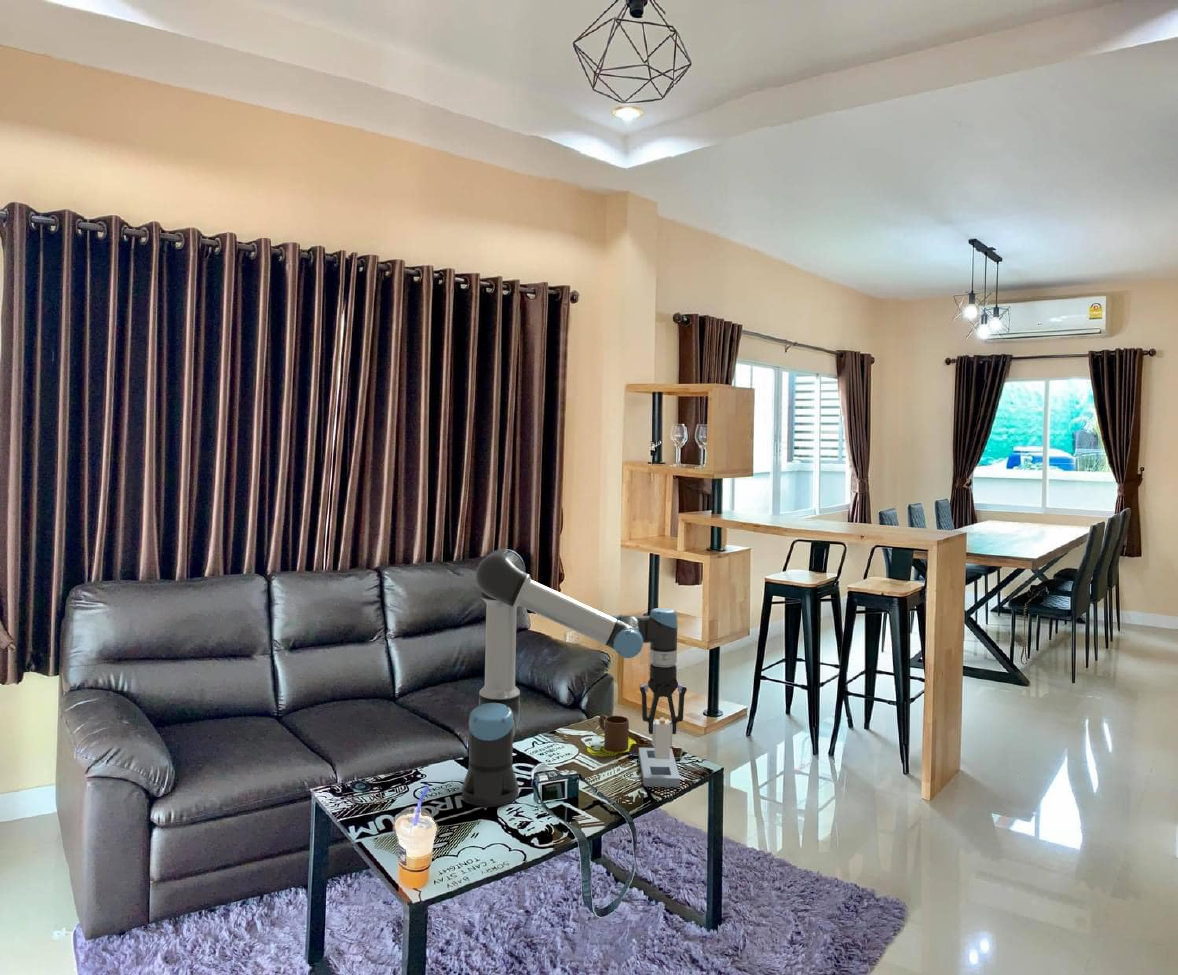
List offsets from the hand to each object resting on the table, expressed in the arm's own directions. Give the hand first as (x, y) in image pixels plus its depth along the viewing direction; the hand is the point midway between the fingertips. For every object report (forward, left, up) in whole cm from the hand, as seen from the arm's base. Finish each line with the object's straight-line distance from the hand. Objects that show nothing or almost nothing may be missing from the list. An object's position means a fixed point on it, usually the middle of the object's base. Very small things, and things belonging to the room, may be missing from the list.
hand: (662, 744), depth 229 cm
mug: (-13, +25, -11) cm, 30 cm away
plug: (0, 0, -3) cm, 3 cm away
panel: (0, +6, -11) cm, 12 cm away
